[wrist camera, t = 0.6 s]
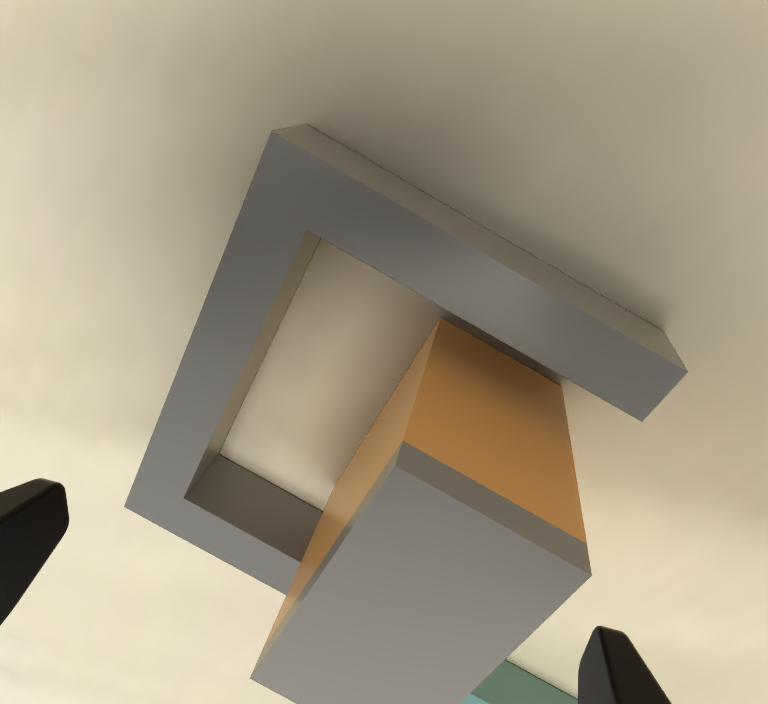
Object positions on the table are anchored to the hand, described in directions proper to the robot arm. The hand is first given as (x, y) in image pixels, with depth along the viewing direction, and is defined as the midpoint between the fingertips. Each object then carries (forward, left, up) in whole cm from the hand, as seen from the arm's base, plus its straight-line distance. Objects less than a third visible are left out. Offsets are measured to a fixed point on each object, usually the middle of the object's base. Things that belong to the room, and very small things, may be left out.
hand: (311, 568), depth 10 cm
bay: (-1, +5, -12) cm, 13 cm away
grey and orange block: (-3, +5, -13) cm, 14 cm away
